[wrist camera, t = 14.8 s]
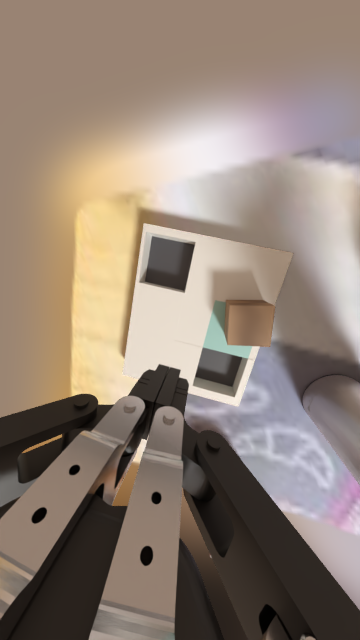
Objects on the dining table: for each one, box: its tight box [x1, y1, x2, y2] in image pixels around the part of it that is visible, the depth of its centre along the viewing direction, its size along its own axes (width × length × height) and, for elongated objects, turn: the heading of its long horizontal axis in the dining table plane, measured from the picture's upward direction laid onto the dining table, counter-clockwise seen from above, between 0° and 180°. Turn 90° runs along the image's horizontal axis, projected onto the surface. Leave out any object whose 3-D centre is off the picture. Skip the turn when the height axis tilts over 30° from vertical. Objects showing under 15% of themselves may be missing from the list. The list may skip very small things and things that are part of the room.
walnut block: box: [224, 300, 275, 347], centre depth 23 cm, size 5×5×4 cm
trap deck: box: [123, 223, 293, 407], centre depth 28 cm, size 20×24×3 cm
